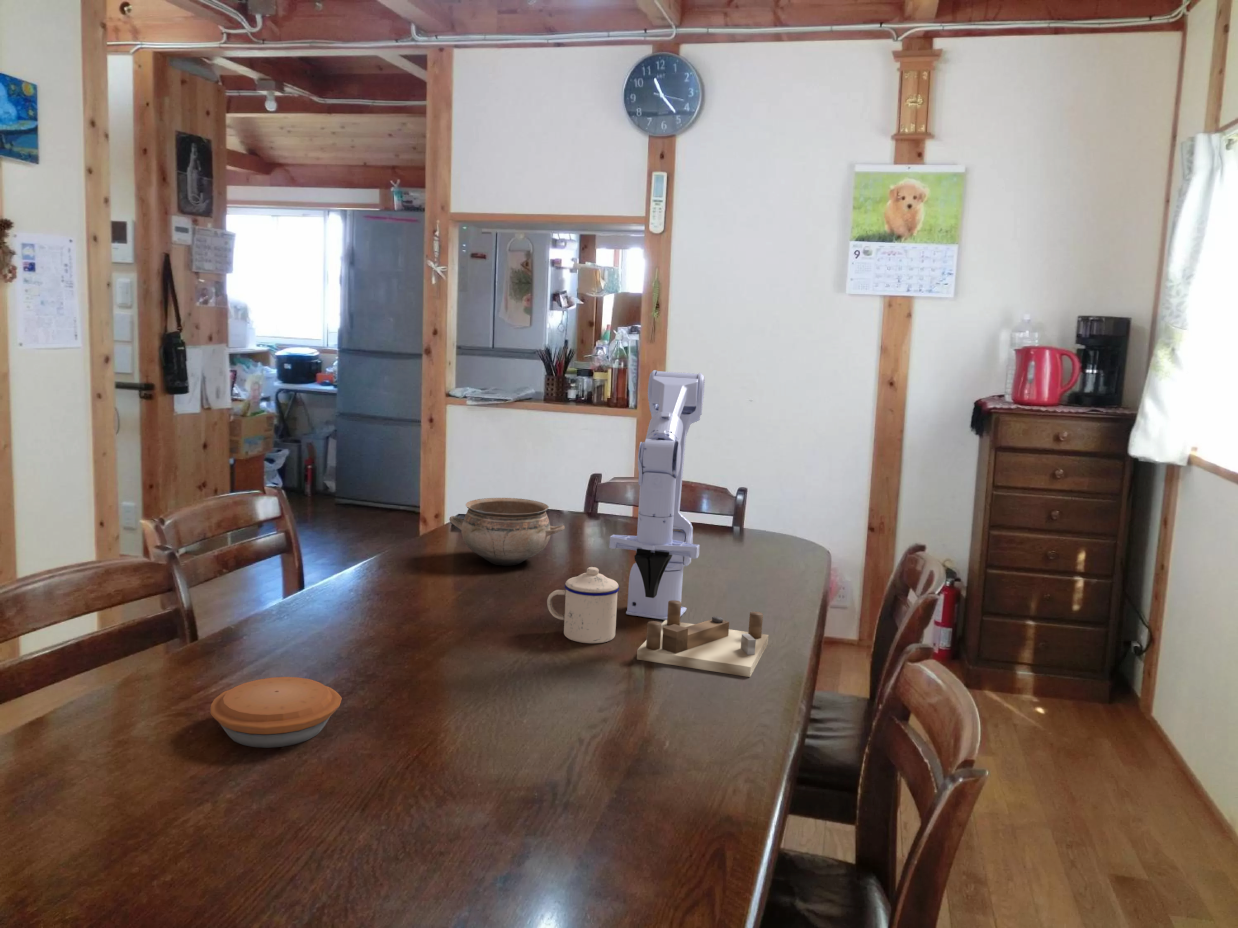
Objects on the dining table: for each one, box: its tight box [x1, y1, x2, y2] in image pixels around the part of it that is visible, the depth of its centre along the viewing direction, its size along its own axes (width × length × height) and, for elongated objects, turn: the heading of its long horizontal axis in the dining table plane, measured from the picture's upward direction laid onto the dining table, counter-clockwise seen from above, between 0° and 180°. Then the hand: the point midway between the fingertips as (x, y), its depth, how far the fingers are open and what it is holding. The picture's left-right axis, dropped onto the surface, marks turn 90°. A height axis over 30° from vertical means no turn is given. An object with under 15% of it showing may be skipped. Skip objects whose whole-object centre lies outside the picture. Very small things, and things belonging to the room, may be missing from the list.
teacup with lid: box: [546, 566, 620, 644], centre depth 168 cm, size 12×9×12 cm
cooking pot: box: [449, 497, 566, 566], centre depth 214 cm, size 25×19×12 cm
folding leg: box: [662, 615, 730, 653], centre depth 163 cm, size 14×3×4 cm, turn 137°
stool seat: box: [636, 600, 770, 678], centre depth 163 cm, size 18×17×6 cm
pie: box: [210, 676, 342, 749], centre depth 126 cm, size 16×16×5 cm
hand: (651, 596), depth 163 cm, fingers closed
